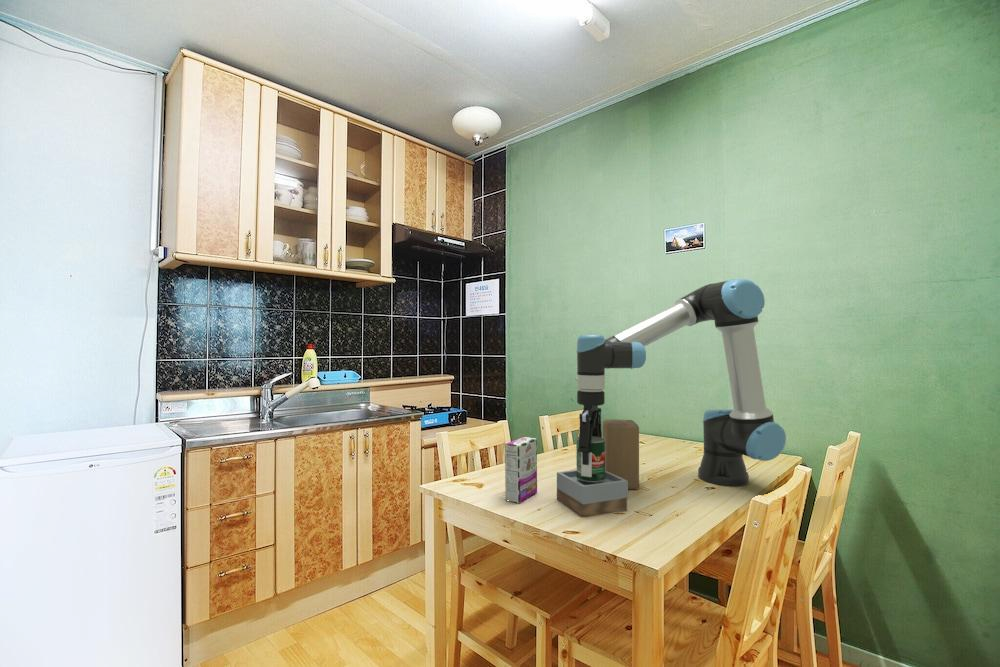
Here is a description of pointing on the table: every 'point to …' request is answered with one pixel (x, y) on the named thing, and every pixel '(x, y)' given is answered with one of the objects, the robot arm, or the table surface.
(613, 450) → the block
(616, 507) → the walnut block
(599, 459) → the canned tomato
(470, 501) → the table surface
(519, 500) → the candy bar box
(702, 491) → the table surface
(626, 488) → the slate grey tray
